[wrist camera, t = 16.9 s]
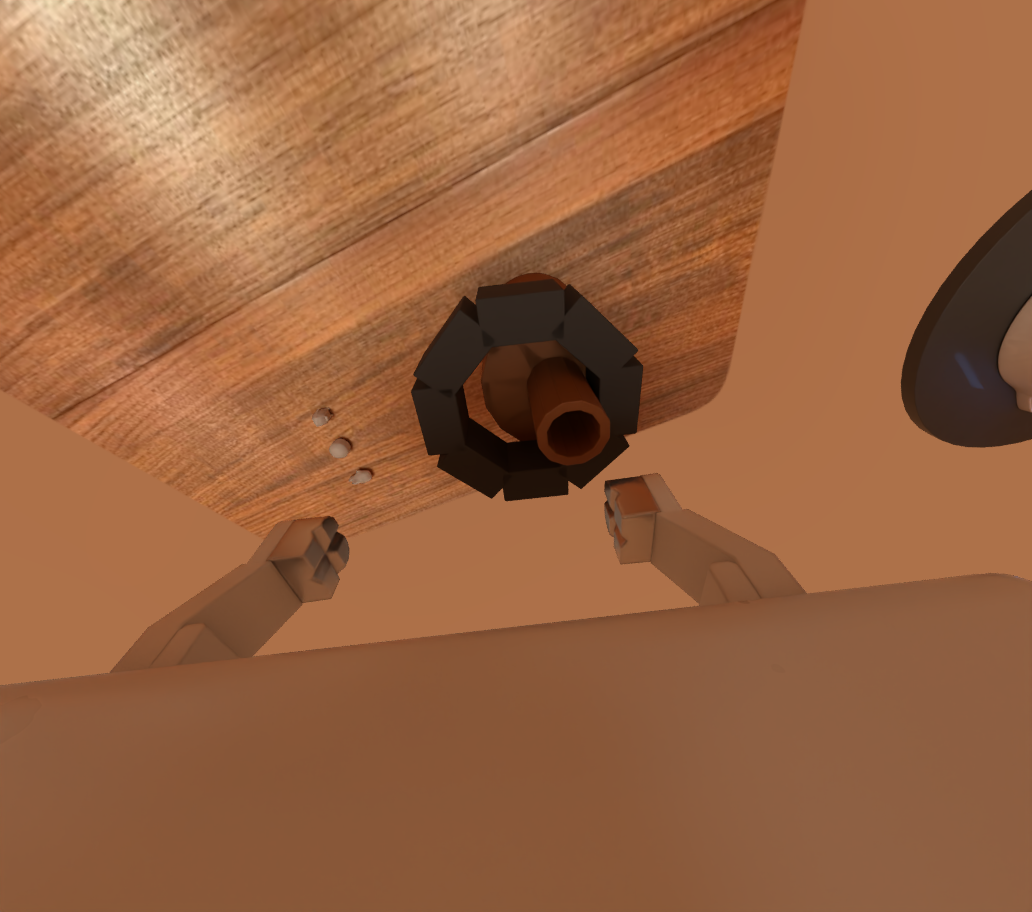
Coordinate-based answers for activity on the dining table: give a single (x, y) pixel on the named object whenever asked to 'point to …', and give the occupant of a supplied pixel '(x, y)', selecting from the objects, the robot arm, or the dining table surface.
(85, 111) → the dining table surface
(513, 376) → the amber bottle
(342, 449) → the game pieces
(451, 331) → the black segmented bracelet
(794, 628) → the robot arm
